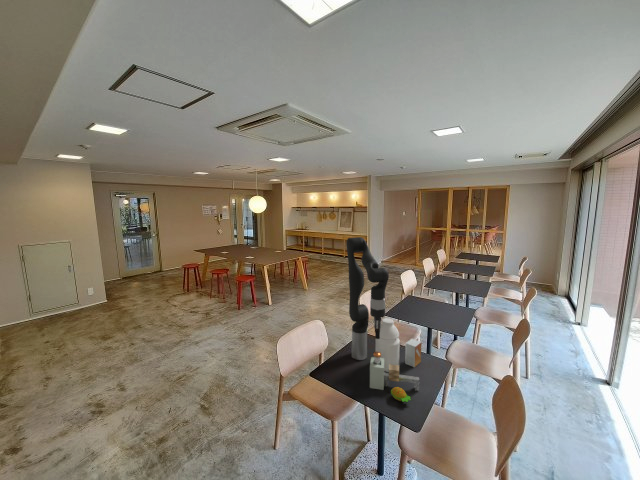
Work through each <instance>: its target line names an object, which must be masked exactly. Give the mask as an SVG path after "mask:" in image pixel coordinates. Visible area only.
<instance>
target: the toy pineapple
mask: <svg viewBox="0 0 640 480" xmlns="http://www.w3.org/2000/svg"><path fill="white" fill-rule="evenodd" d="M390 394H391V396H392V397H393V398H394V399H395V400H396V401H398V402H403V403H404V402H405V403H408V401H412V400H411V396H409V395H408V394H407V393H406V391H405V389H403V388H402V387H399V386H395V387H393V388H392V389H391V390H390Z"/></svg>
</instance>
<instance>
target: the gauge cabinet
mask: <svg viewBox="0 0 640 480" xmlns="http://www.w3.org/2000/svg"><path fill="white" fill-rule="evenodd" d="M369 363H370V364H369V389H376V390H381V391H385V390H384V388H385V386H384V373H385V371H384V358H380V365H377V364H374V356H371V357H370V362H369Z"/></svg>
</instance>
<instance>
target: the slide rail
mask: <svg viewBox="0 0 640 480" xmlns="http://www.w3.org/2000/svg"><path fill="white" fill-rule="evenodd" d="M388 382H389V372H384V387H389V385H388V384H389V383H388ZM399 382H405V383H411V384H414V391H417V392H419V391H420V377H419V376H412V375H404V374H399Z"/></svg>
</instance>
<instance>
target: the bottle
mask: <svg viewBox="0 0 640 480" xmlns="http://www.w3.org/2000/svg"><path fill="white" fill-rule="evenodd" d="M399 337H400V332H399V330H398V328H397V326H396V325H395V322H394V320H393V318H389V317H383V318H382V321H381V329H380V339H376V338H375V340H374V341H375V351H374V352H376V351H378V352H380V353H381V357H380V358H384V372H385V373H389V364H391V365H399V366H400V348H401V347H400V343H401V340H400V338H399Z"/></svg>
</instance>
